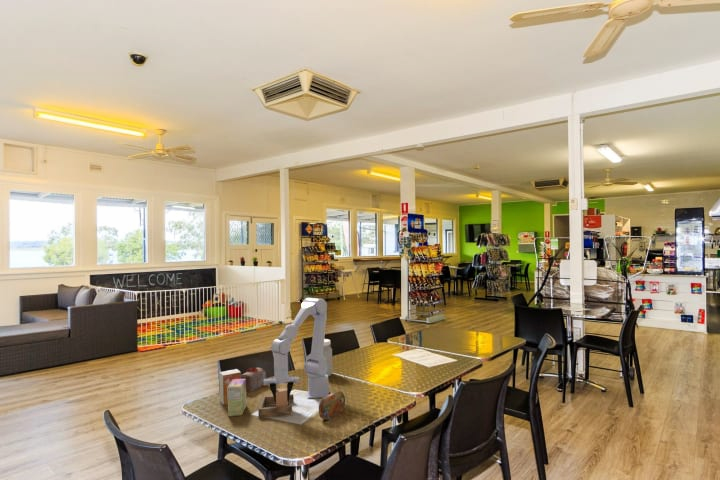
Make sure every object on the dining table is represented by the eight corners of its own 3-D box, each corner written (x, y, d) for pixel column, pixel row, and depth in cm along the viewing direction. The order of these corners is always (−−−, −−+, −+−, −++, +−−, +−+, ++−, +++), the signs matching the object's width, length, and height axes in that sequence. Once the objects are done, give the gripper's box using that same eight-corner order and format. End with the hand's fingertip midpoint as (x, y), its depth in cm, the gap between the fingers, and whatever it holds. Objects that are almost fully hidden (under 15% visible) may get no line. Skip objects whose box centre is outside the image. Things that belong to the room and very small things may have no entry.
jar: (325, 370, 224) (324, 337, 224) (336, 374, 217) (335, 340, 217) (310, 375, 218) (309, 340, 218) (321, 379, 210) (320, 343, 211)
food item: (253, 383, 208) (252, 363, 208) (267, 384, 206) (266, 364, 206) (237, 392, 195) (237, 371, 195) (252, 393, 193) (252, 372, 193)
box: (233, 406, 177) (232, 379, 177) (246, 405, 178) (246, 378, 178) (227, 416, 167) (226, 387, 167) (241, 415, 167) (241, 386, 168)
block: (287, 402, 175) (287, 388, 175) (287, 406, 171) (286, 391, 171) (277, 403, 175) (276, 388, 175) (276, 407, 170) (275, 392, 170)
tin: (324, 423, 158) (323, 401, 158) (317, 421, 159) (316, 399, 159) (345, 409, 170) (345, 389, 171) (339, 408, 172) (339, 387, 172)
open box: (293, 402, 180) (293, 394, 180) (292, 415, 166) (291, 406, 166) (262, 404, 179) (262, 396, 179) (258, 418, 164) (258, 409, 164)
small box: (223, 405, 179) (222, 375, 179) (219, 401, 184) (218, 371, 184) (242, 401, 183) (241, 371, 183) (237, 397, 189) (236, 368, 189)
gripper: (262, 372, 168) (263, 405, 168) (298, 369, 170) (299, 403, 169) (264, 367, 175) (265, 399, 175) (298, 364, 177) (299, 396, 176)
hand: (282, 400), depth 173 cm, fingers closed on block, 4 cm apart
